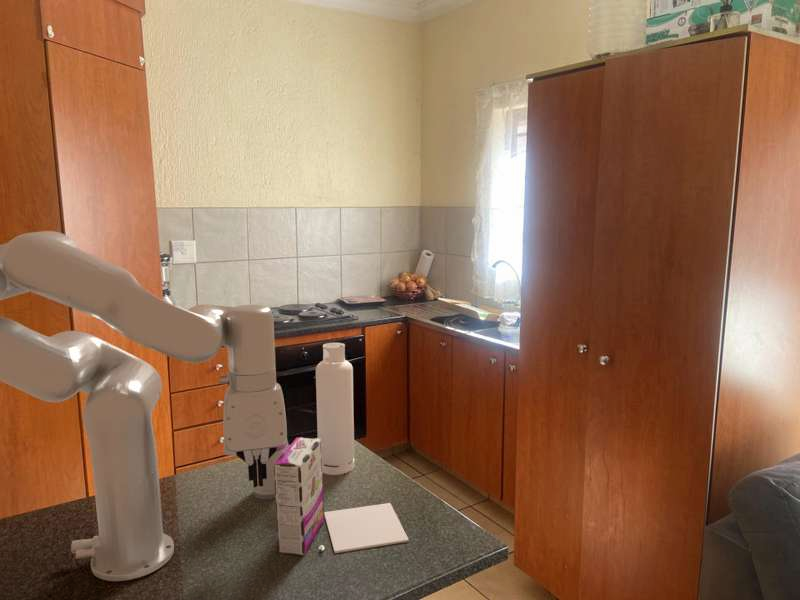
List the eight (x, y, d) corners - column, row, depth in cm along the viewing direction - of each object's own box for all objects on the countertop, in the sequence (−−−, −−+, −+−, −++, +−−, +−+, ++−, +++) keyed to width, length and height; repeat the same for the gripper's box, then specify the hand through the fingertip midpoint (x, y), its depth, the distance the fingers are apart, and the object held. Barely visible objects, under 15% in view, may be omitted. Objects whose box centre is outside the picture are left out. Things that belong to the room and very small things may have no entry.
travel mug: (292, 489, 120) (289, 396, 117) (269, 503, 115) (265, 406, 111) (270, 481, 123) (266, 391, 120) (247, 494, 118) (242, 400, 115)
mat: (334, 553, 98) (334, 551, 98) (324, 514, 111) (324, 512, 110) (408, 541, 101) (408, 539, 101) (390, 504, 114) (390, 502, 114)
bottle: (361, 469, 129) (359, 346, 125) (327, 478, 125) (324, 351, 120) (344, 455, 136) (342, 339, 131) (312, 464, 132) (308, 343, 127)
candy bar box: (299, 519, 109) (296, 436, 106) (324, 521, 108) (322, 437, 105) (276, 554, 98) (272, 462, 95) (304, 557, 97) (301, 464, 94)
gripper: (204, 390, 91) (211, 499, 94) (300, 382, 95) (304, 487, 98) (206, 377, 98) (213, 479, 101) (296, 370, 102) (300, 468, 105)
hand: (258, 483), depth 99 cm, fingers closed
